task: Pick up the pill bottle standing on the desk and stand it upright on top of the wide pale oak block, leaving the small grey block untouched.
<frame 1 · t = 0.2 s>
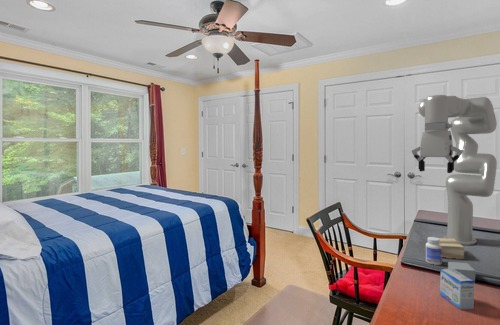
hand: (435, 171, 110), 36 cm above the table, tool pointing down, fingers open, 9 cm apart
oak block: (444, 253, 120), on the table
medicine box: (456, 302, 85), on the table
pill bottle: (433, 262, 112), on the table
grey block: (461, 276, 100), on the table
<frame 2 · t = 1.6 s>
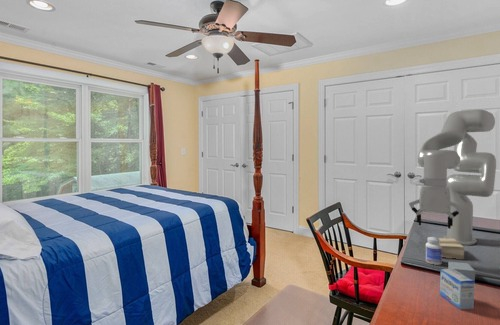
hand: (434, 225, 110), 15 cm above the table, tool pointing down, fingers open, 9 cm apart
nothing on the table moved.
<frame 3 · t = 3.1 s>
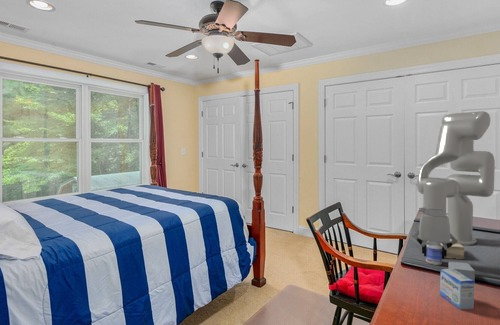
hand: (433, 256, 112), 2 cm above the table, tool pointing down, fingers closed on pill bottle, 5 cm apart
pill bottle: (433, 262, 112), on the table, touching gripper
everything else where it was.
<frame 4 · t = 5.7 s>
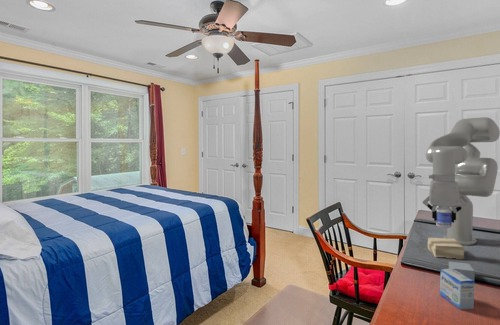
hand: (443, 220, 117), 15 cm above the table, tool pointing down, fingers closed on pill bottle, 5 cm apart
pill bottle: (443, 226, 117), point 12 cm above the table, touching gripper
everything else where it was.
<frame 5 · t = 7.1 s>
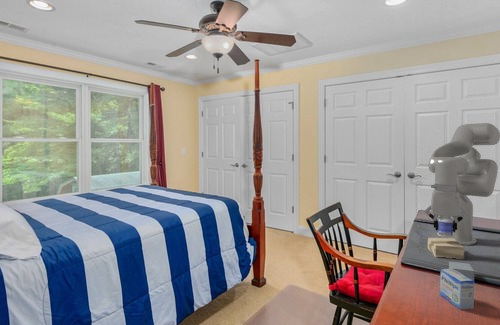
hand: (445, 230, 119), 10 cm above the table, tool pointing down, fingers closed on pill bottle, 5 cm apart
pill bottle: (444, 236, 119), point 8 cm above the table, touching gripper
everything else where it was.
when the fingers open (8 cm above the table, at t = 8.2 s): pill bottle stays where it is, resting on oak block.
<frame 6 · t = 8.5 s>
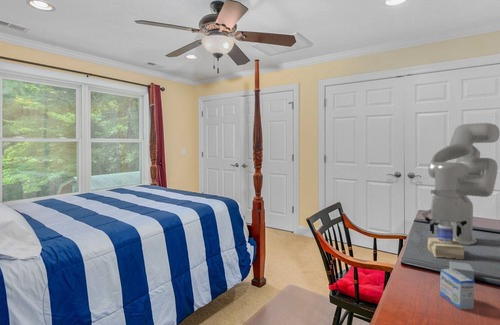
hand: (445, 234, 119), 8 cm above the table, tool pointing down, fingers open, 8 cm apart
pill bottle: (445, 242, 119), point 5 cm above the table, touching oak block
everything else where it was.
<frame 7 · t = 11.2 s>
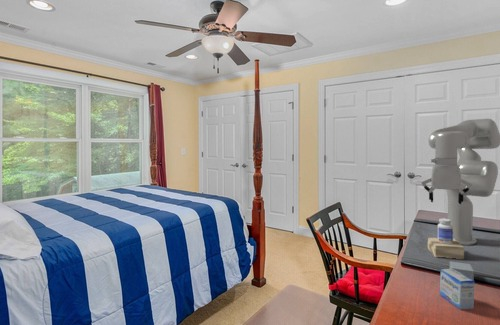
hand: (445, 202, 118), 22 cm above the table, tool pointing down, fingers open, 9 cm apart
nothing on the table moved.
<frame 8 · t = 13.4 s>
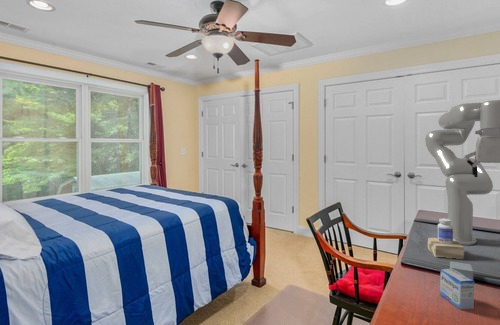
hand: (491, 177, 109), 33 cm above the table, tool pointing down, fingers open, 9 cm apart
nothing on the table moved.
at the end: pill bottle inside the target area on the oak block (0.1 cm from its centre), point 4.8 cm above the oak block's base; pill bottle tilted 0°; pill bottle touching oak block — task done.
